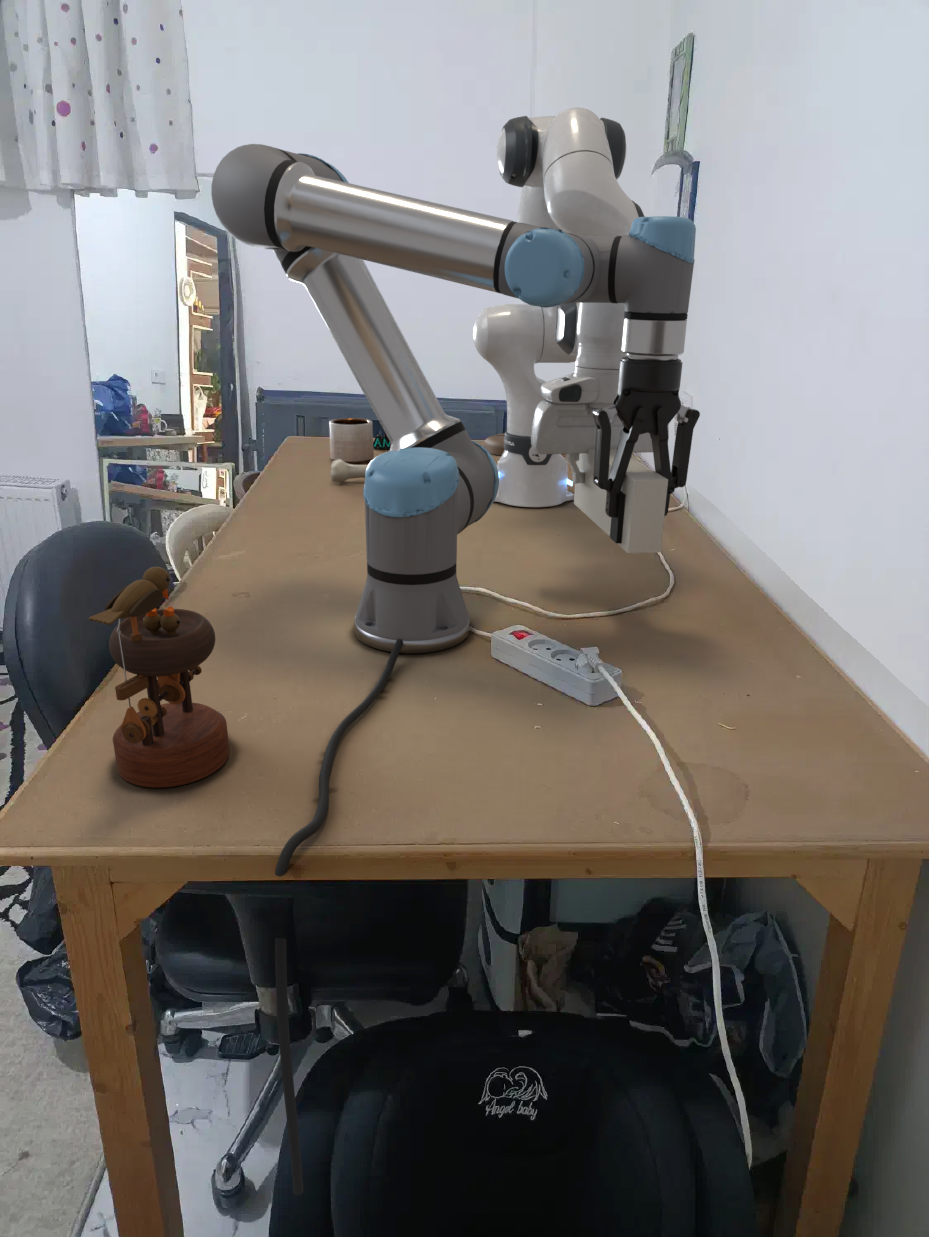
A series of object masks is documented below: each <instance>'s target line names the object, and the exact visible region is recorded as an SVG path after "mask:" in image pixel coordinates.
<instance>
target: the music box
mask: <svg viewBox="0 0 929 1237" xmlns="http://www.w3.org/2000/svg"><path fill="white" fill-rule="evenodd" d="M170 584H171V577H170V573H169V572H168V571H167V570H166V569H165V568H163V567H162V566H161V567H160V566H152V567H149V568H148V569H147V570H145V571H144V573H143V575H142V579H137V580H134V581H133V582H132V583H128V584H127V585H125V586H124V587H123V588H121V589H120V590H119V591H118V592H117V593H116V594H114V595H113V596H112V598H110V599H109V601H108V602H107V603H106V605H105V606H104V611H100V612H99V613H96V614H94V615H91V616H89V617H88V620H89V621H90V622H94V623H98V624H102V625H106V626H111V625H113V624H114V623H115V622H116V621H118V624H116V626H115V627H114V628H113V630H112V632H111V633H110V637H109V640H108V641H109V642H108V650H109V654H110V657H111V658H112V660H113V661H114V662H115V663H116V665H117V666H118V667H119V668H120V669H122V670H123V672H124V680H125V681H123V682H121V683H119V684H117V685H116V686H115V687H114V690H115V697H116V700H117V701H126V700H128V705H129V706H128V707H127V709H126V711H125V714H124V717H123V720H122V723H121V724H119V726H118V727H117V728H116V730H115V731H114V733H113V736H112V744H113V750H114V757H115V763H116V769H117V773H118V774H119V775H120V777H121V778H123V779H124V780H125V781H126V782H128V783H130V784H132V785H136V786H139V787H146V788H171V787H178V786H183V785H187V784H190V783H194V782H197V781H200V780H202V779H204V778H206V777H208V776H210V775H212V774H213V773H215V772H216V771H219V769H220V768H221V767H222V766H223V765H224V764H225V763H226V762H227V760H228V758H229V756H230V742H229V732H228V723H227V719H226V717H225V716H224V715H223V714H222V713H221V712H220V711H219V710H216V709H215V708H213V707H211V706H209V705H206V704H203V703H200V702H199V703H198V702H193V700H192V690H191V682H192V681H193V679H194V678H195V677H194V676H199V675H200V674H201V673H202V670H203V669H202V667H201V666H200V665H201V664H203V663H204V662H205V661H206V660H207V659H208V658H209V657H210V655H211V654H212V652H213V650H214V648H215V645H216V633H215V629H214V627H213V625H212V624H211V622H210V621H209V619H207V617H205V616H204V615H202V614H201V613H199V612H196V611H194V610H190V609H189V610H188V609H183V608H174V607H173V606H168V607H167V608H161V609H157V608H158V606H160V605H161V604H162V602H163V599H165V600H167V601H169V599H170V597H169V591H168V588H169V586H170ZM121 619H122V621H121ZM127 672H128V673H131V674H133V675H134V676H133V677H131V678H129V679H128V678H127ZM144 690H146V692H147V693H146V694H147V697H142V698H141V699H139V700H138V701H137V704H136V705H137V706H136V707H137V710H138V711H136V709H135V708H134V707H133V706H132V705H131V704H132V703H131V697H133V696H135V695H137V694H139V693H140V692H142V691H144ZM162 701H166V702H167V703H162V704H161V702H162Z"/></svg>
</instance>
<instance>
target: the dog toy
mask: <svg viewBox="0 0 929 1237" xmlns="http://www.w3.org/2000/svg"><path fill="white" fill-rule="evenodd" d="M367 466H368V464H354V463H346V462H344V461H343V460H341V459H338V460H335V461H334V460H332V463H331V465H330V474H329V476H330V480H331V481H332V482H334V483H342V482H346V481H347V480H351V479H352V480H353V479H360V478H365V471H366V468H367Z"/></svg>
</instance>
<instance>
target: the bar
mask: <svg viewBox="0 0 929 1237" xmlns="http://www.w3.org/2000/svg"><path fill="white" fill-rule="evenodd" d="M616 450H617V449H610V460H609V473H610V470H611V467H612V463H613V460H614V457H615V453H616ZM594 458H595V449H589V451H588V453H583V454H580V455H579V461H575V462H576V464H577V466H578V468H579V470H583V471H584V472H585V478H584V479H585V482H584V483H578V484H575V483H574V493H573V494H574V500H573V504H574V505H575V506H576V507H577V508H578V509H579V510H580V511H581V512H582V514H584V515H586V516H587V518H589V519H590V520H591V521H592V522H593V523H594V524H595V525H596V526H598V527H599V528H600V529H601V531H603V532H604V533H605V534H606V535H607V536H608V537H610V527H611V517H609V516H608V515H606V512H605V507H606V495H607V492H606V490H604V489H601V488H599V487H598V486H597V485H595V484H594V482H593V475H594ZM608 477H609V476H608ZM667 486H668V479H666V478H665V477H663V476H661V475H660V474H658V473H656V472H655V470H653V469H652V468H650V467H648V466H647V465H645V464H643V463H642V462H640V461H638V460H637V459H636V458H633V457H631V459H630V462H629V465H628V468H627V472H626V475H625V478H624V481H623V485H622V488H621V491H622V492H623V493H624V494H626V498H625V509H624V521H623V532H622V543H616V545H617V546H619V547H620V548H622V549H623V550H624V551H625V552H626V553H627V554H628V555H629V554H653V553H661V551H662V542H663V531H664V522H665V516H664V514H665V505H666V496H667Z"/></svg>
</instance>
